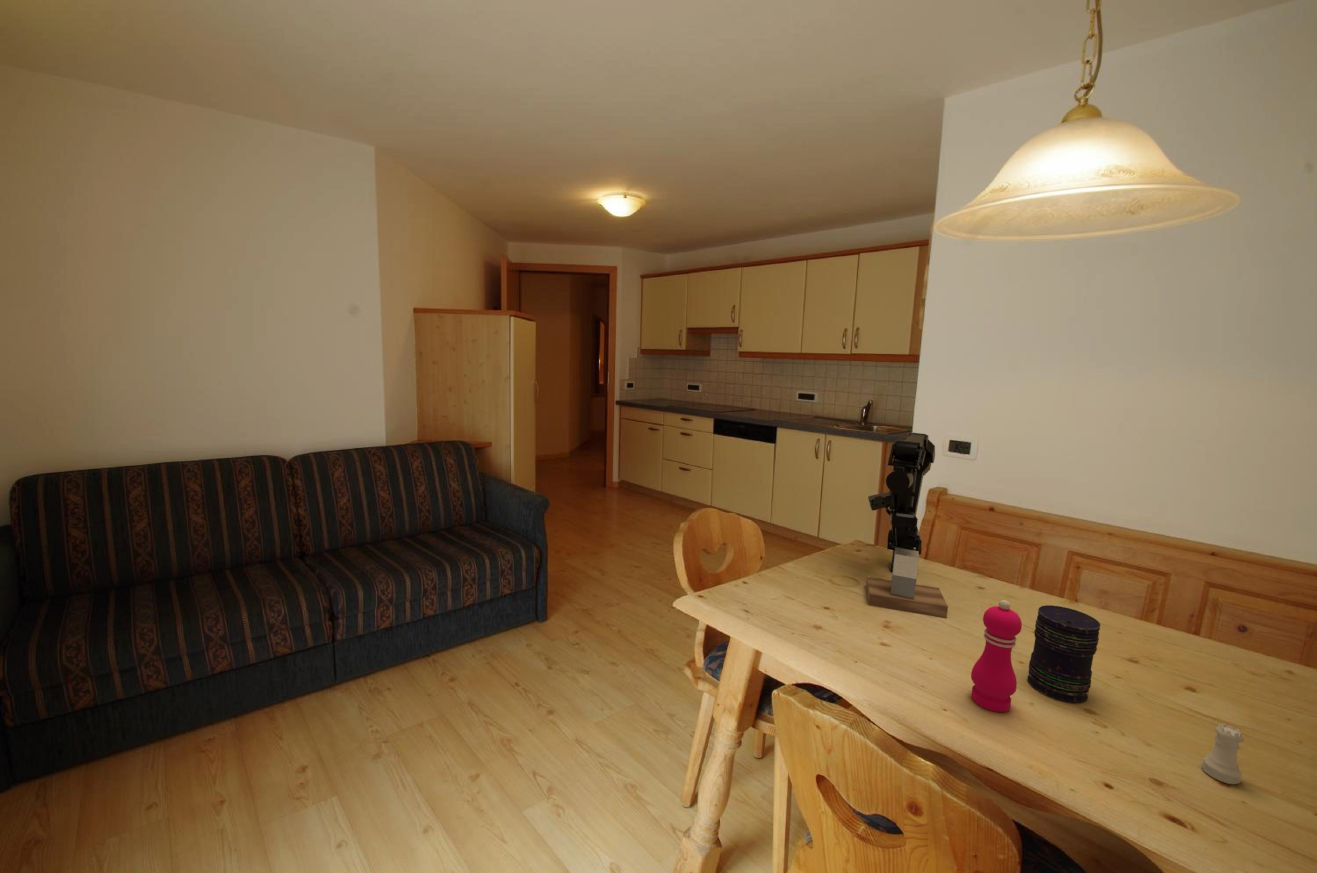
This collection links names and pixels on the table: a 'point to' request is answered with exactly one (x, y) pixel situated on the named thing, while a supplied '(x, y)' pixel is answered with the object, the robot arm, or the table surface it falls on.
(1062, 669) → the dark ridged cylinder
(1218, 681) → the table surface
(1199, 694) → the table surface
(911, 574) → the block
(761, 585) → the table surface
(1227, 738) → the rook chess piece
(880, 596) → the stand
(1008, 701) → the pepper mill
